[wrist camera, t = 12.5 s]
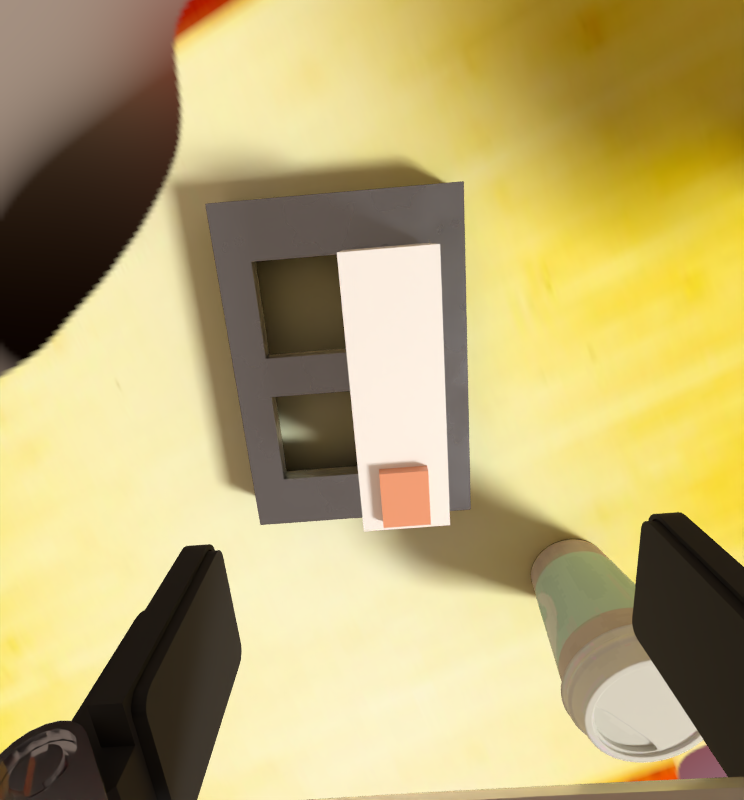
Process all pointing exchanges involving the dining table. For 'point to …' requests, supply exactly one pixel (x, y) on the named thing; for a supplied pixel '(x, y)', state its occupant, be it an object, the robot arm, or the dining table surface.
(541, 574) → the coffee cup
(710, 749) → the robot arm
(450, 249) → the grey frame with openings
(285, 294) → the dining table surface
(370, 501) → the white block orange button
